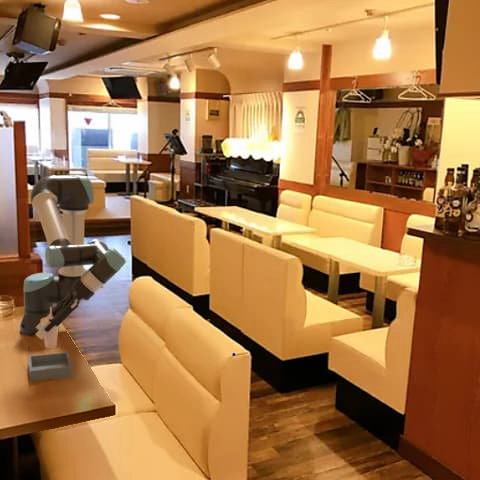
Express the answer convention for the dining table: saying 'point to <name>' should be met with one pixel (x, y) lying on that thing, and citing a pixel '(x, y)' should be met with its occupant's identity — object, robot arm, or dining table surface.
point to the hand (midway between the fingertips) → (38, 333)
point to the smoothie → (50, 333)
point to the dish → (49, 366)
